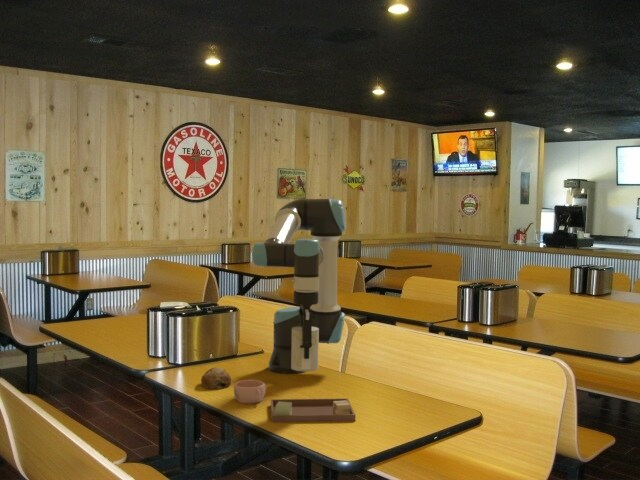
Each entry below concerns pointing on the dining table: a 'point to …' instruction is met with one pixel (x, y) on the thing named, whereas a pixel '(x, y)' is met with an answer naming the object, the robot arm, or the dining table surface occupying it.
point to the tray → (311, 411)
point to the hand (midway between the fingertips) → (304, 365)
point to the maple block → (341, 407)
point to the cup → (297, 351)
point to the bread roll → (216, 379)
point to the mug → (249, 391)
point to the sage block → (284, 408)
